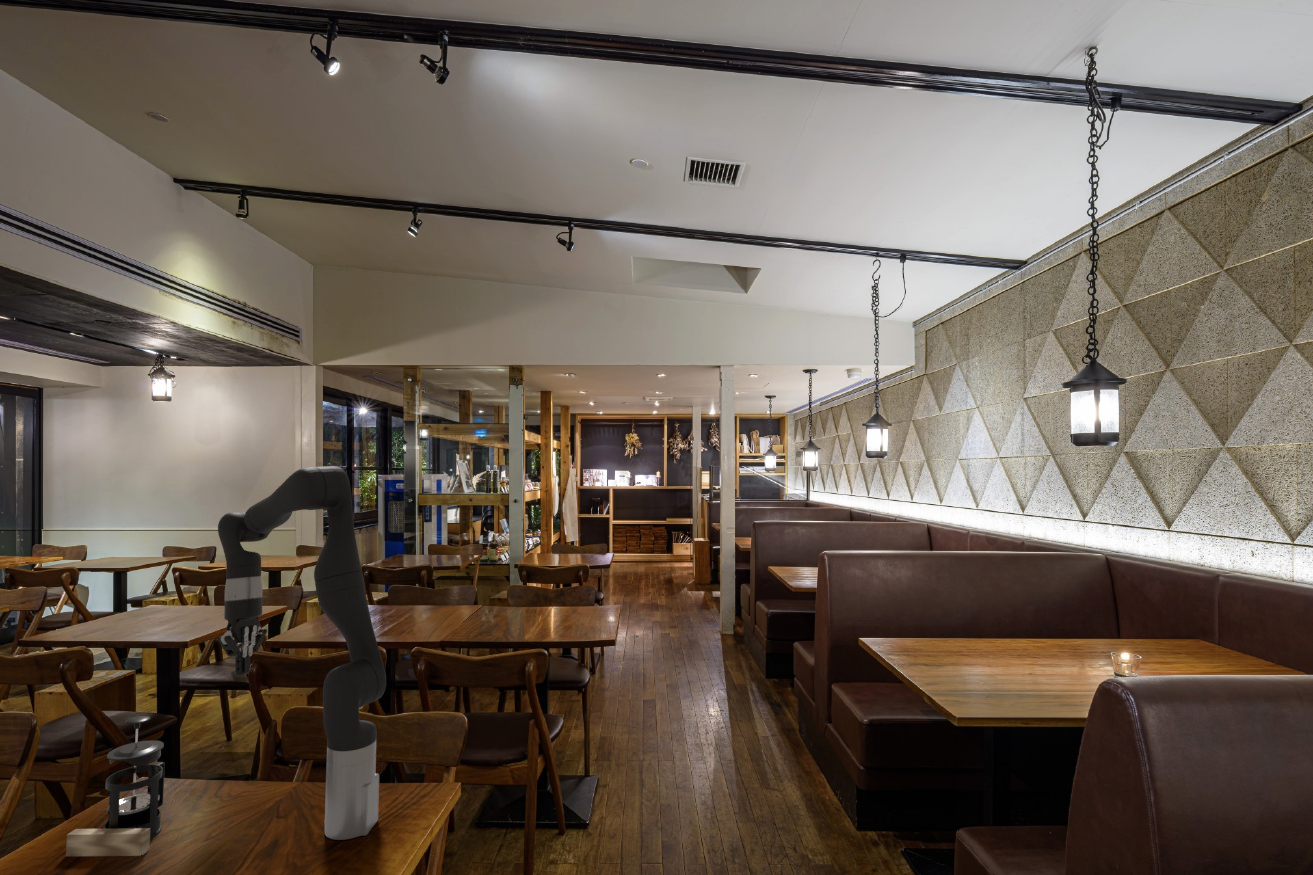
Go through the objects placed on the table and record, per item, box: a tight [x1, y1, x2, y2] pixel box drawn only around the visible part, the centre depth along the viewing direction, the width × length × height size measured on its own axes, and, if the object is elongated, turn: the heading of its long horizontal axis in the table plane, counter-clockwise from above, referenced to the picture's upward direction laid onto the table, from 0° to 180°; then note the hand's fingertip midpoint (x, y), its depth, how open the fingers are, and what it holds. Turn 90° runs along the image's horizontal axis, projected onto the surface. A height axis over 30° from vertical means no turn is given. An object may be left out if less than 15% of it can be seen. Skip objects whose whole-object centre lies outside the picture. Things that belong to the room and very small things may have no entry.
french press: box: [103, 715, 166, 840], centre depth 133 cm, size 12×9×23 cm
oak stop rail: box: [65, 827, 151, 857], centre depth 126 cm, size 14×2×4 cm, turn 92°
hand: (242, 674), depth 153 cm, fingers closed
